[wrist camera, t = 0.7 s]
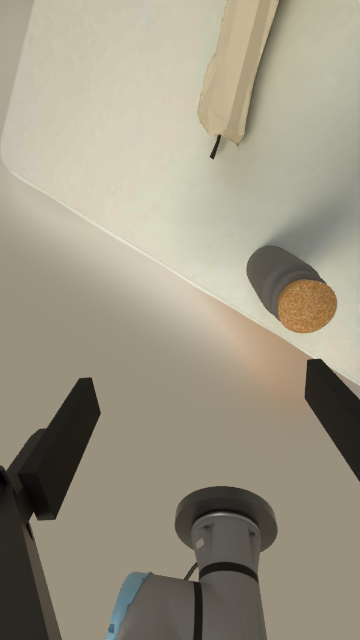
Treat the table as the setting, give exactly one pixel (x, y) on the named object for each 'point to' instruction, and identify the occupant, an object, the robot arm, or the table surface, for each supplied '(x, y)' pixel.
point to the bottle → (291, 290)
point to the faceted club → (234, 68)
